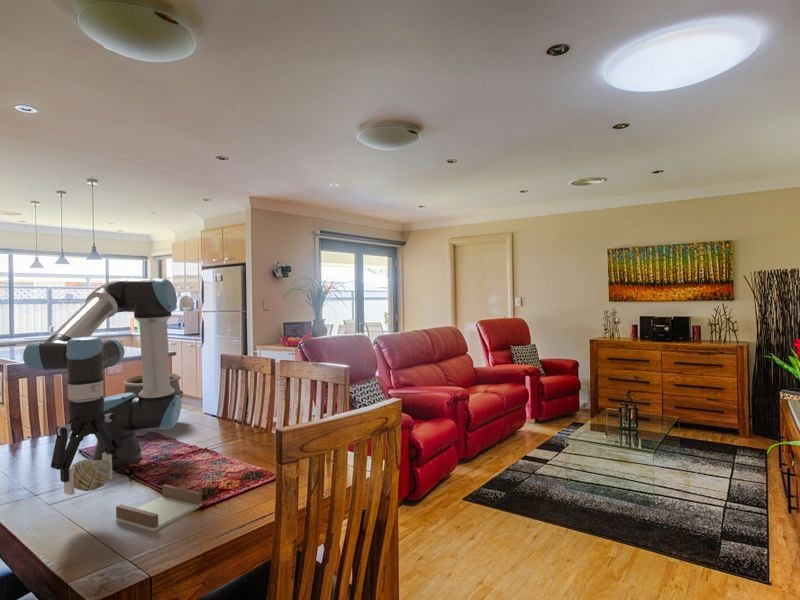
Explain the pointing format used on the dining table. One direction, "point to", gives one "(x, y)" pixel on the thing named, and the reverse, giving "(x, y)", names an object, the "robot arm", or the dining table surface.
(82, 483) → the seashell
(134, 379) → the planter
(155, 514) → the cradle
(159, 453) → the dining table surface
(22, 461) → the dining table surface
